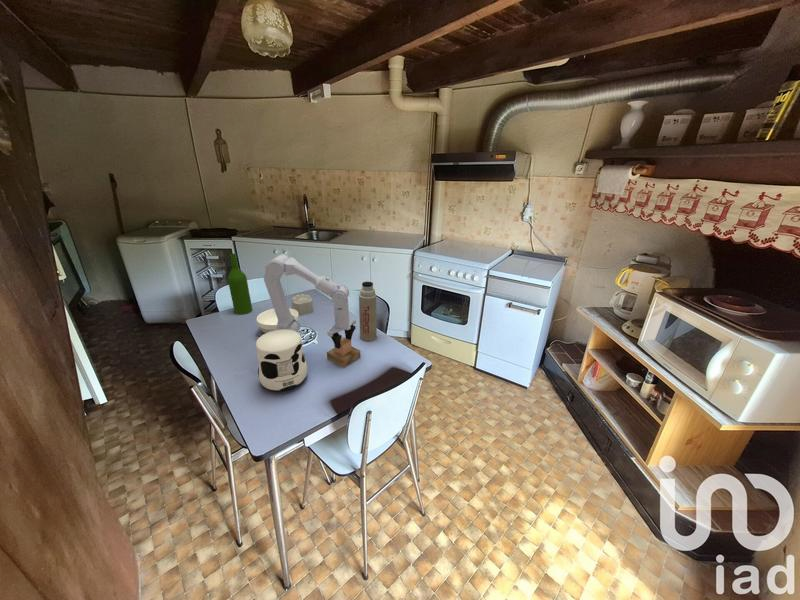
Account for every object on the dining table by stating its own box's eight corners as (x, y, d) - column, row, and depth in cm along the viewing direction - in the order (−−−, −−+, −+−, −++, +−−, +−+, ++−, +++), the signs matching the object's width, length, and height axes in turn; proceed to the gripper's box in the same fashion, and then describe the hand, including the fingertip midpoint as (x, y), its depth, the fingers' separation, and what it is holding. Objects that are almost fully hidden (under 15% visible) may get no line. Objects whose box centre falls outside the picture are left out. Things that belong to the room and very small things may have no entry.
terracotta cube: (343, 355, 128) (343, 345, 126) (334, 351, 130) (334, 341, 128) (351, 350, 132) (351, 340, 130) (342, 346, 134) (342, 336, 132)
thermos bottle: (370, 343, 144) (370, 287, 133) (356, 338, 148) (355, 284, 136) (379, 335, 151) (379, 282, 140) (365, 331, 154) (365, 278, 143)
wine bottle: (255, 310, 172) (245, 253, 159) (240, 316, 165) (229, 257, 152) (246, 306, 176) (235, 251, 163) (231, 312, 169) (219, 254, 156)
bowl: (305, 324, 159) (304, 308, 156) (290, 343, 142) (288, 326, 139) (271, 321, 161) (268, 306, 158) (251, 339, 144) (248, 323, 140)
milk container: (282, 362, 128) (276, 324, 121) (317, 372, 123) (313, 333, 116) (249, 387, 113) (241, 345, 106) (287, 400, 108) (281, 357, 101)
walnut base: (343, 369, 126) (342, 360, 125) (327, 360, 132) (326, 352, 130) (360, 358, 134) (360, 350, 132) (344, 350, 139) (344, 342, 137)
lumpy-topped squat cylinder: (296, 316, 167) (294, 302, 164) (290, 307, 177) (288, 293, 173) (315, 312, 172) (313, 298, 169) (308, 304, 182) (306, 290, 179)
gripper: (335, 325, 117) (337, 355, 122) (361, 312, 128) (361, 340, 133) (322, 320, 120) (325, 349, 126) (348, 307, 131) (349, 335, 137)
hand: (343, 344), depth 130 cm, fingers open, 6 cm apart
